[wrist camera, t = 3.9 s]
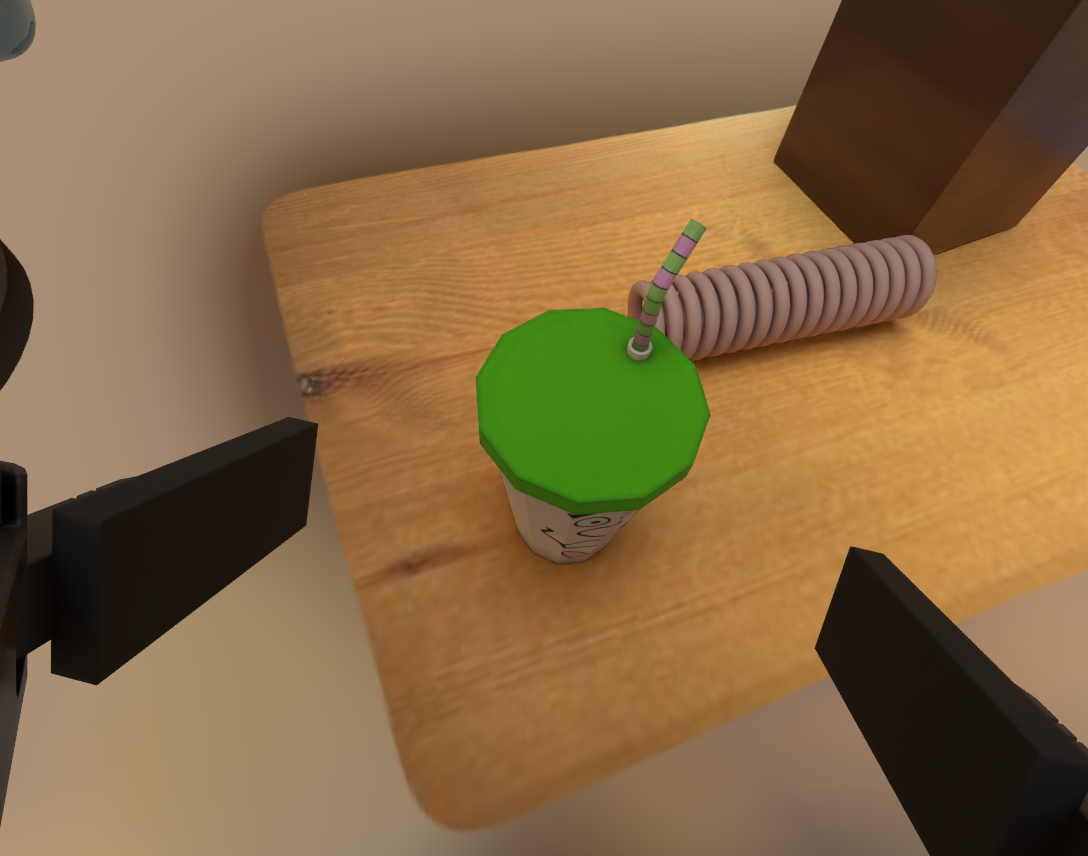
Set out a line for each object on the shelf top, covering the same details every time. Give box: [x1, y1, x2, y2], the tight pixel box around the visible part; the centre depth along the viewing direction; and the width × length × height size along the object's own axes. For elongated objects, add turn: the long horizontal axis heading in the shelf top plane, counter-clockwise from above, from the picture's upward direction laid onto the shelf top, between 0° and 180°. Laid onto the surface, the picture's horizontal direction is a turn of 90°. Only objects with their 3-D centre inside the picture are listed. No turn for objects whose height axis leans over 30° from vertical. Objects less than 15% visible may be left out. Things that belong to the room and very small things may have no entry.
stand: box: [774, 0, 1088, 255], centre depth 35 cm, size 12×12×20 cm
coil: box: [628, 235, 937, 360], centre depth 34 cm, size 5×5×18 cm
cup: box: [476, 219, 710, 564], centre depth 23 cm, size 8×8×15 cm
